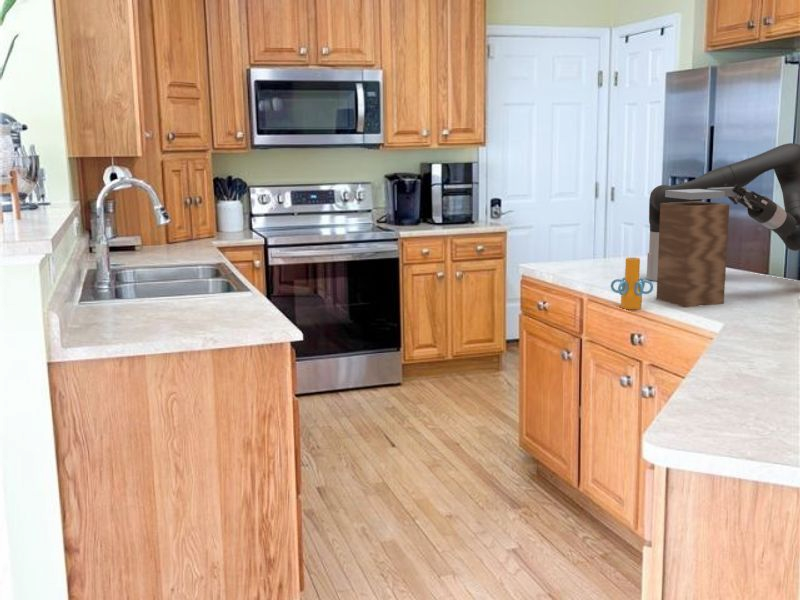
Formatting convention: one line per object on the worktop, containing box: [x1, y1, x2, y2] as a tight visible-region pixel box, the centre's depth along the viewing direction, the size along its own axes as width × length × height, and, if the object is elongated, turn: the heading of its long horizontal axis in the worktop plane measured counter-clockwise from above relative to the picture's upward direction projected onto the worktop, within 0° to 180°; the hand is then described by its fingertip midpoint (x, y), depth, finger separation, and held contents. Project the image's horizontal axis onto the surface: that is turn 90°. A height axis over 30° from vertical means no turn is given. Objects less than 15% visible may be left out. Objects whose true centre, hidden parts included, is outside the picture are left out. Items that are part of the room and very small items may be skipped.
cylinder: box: [610, 256, 654, 311], centre depth 241 cm, size 12×10×15 cm
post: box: [656, 200, 730, 308], centre depth 247 cm, size 14×14×30 cm
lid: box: [665, 186, 747, 200], centre depth 245 cm, size 23×12×2 cm, turn 108°
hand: (729, 187), depth 247 cm, fingers closed on lid, 4 cm apart
